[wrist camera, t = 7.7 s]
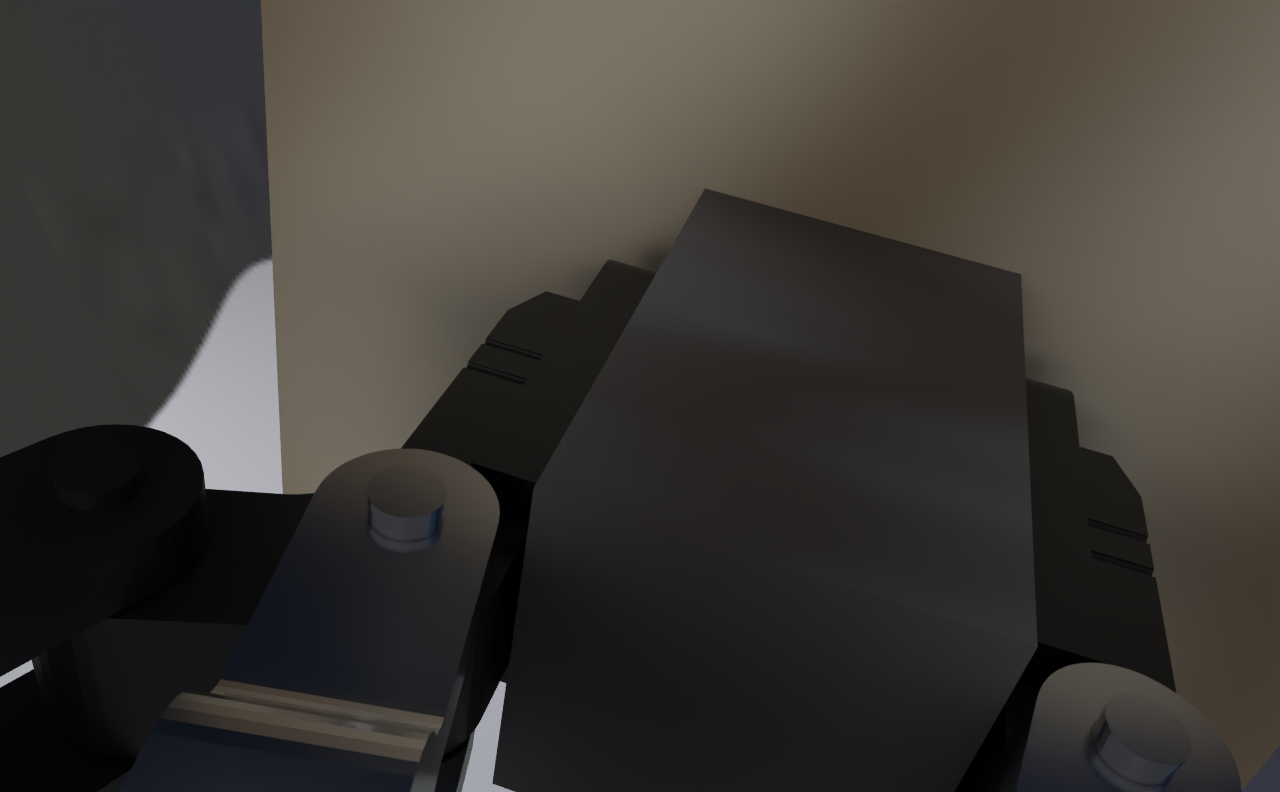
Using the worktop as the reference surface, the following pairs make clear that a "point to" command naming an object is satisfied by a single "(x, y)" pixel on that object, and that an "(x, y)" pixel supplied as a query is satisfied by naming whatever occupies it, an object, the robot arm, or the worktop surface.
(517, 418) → the robot arm
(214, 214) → the worktop surface
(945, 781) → the lid
